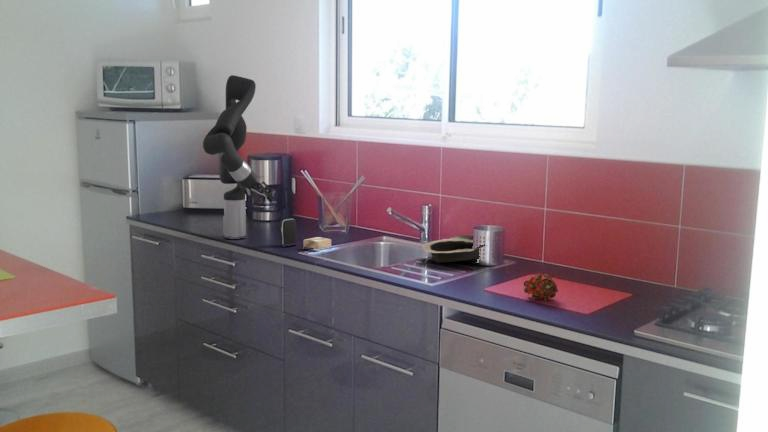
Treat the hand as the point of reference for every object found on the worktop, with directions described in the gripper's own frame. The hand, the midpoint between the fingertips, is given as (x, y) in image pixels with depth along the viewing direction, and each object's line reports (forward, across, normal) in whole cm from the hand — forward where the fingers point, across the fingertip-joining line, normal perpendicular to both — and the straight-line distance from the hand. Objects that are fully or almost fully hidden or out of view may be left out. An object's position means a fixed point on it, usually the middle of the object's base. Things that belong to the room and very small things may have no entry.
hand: (264, 200), depth 286 cm
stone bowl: (+37, -70, -6) cm, 79 cm away
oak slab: (+26, -14, +4) cm, 29 cm away
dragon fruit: (+18, -118, +14) cm, 120 cm away
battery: (+24, 0, +6) cm, 24 cm away
